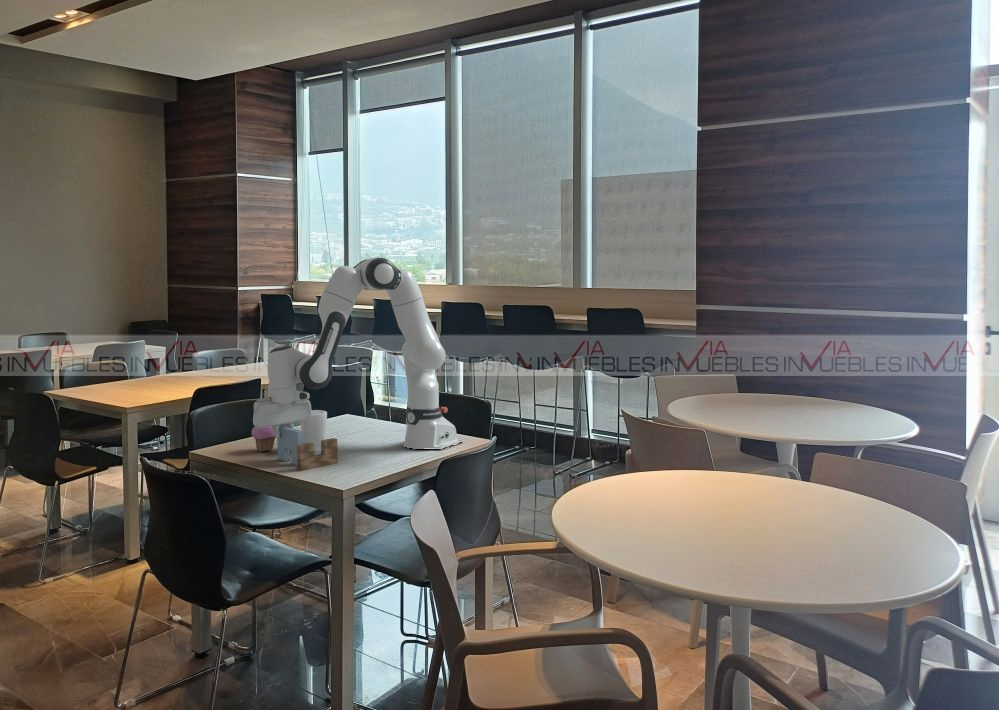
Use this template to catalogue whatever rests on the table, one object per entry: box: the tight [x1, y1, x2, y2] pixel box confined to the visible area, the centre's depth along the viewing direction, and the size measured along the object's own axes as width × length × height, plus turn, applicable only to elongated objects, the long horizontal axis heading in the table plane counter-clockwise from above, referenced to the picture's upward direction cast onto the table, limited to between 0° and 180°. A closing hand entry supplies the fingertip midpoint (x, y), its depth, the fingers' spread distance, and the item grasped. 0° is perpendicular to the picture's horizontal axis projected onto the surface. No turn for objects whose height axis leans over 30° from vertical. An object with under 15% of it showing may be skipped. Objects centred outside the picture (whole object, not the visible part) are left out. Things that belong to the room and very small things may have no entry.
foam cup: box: [299, 409, 328, 452], centre depth 274 cm, size 10×9×13 cm
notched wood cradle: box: [296, 437, 339, 472], centre depth 251 cm, size 14×2×8 cm, turn 138°
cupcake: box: [251, 426, 276, 452], centre depth 271 cm, size 9×9×10 cm
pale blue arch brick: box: [276, 425, 303, 466], centre depth 256 cm, size 12×2×11 cm, turn 48°
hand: (283, 437), depth 258 cm, fingers closed on pale blue arch brick, 2 cm apart
